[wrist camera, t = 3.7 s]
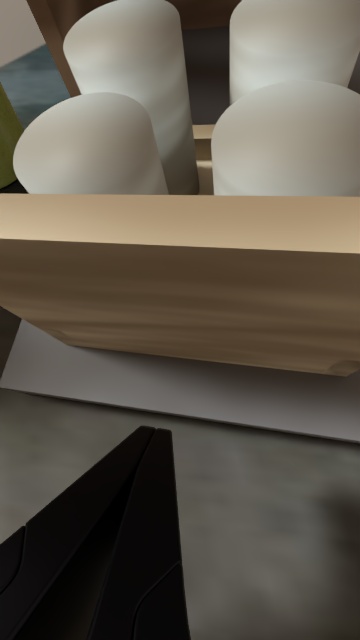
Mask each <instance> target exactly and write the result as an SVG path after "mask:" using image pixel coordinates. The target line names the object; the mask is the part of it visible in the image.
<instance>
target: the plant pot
mask: <svg viewBox="0 0 360 640" xmlns="http://www.w3.org/2000/svg"><path fill="white" fill-rule="evenodd" d="M23 133H24V129H23V127H22V125H21V123H20V121H19V119H18V117H17V115H16V113H15V111H14V109H13V107H12V105H11V103H10V101H9V99H8V97H7V95H6V93H5V91H4V89H3V87H2V84H1V82H0V189H1V188H3V187H5V186H7V185H9V184H11V183H12V182H14V181H15V180H16V179H18V178H17V176H16V174H15V171H14V167H13V156H14V151H15V148H16V145H17V143H18V141H19V139H20V137H21V135H22V134H23Z"/></svg>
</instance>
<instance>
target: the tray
mask: <svg viewBox="0 0 360 640" xmlns="http://www.w3.org/2000/svg"><path fill="white" fill-rule="evenodd" d="M63 51H64V54H65V57H66V59H67V61H68V64H69V66H70V68H71V71H72V73H73V75H74V78H75V80H76V82H77V85H78V87H79V90H80V92H81V94H82V95H79V96H76V97H73V98H70V99H67V100H65V101H63V102H60V103H58V104H56V105H55V106H53V107H51V108H49V109H48V110H46V111H45V112H44V113H42V114H41V115H40V116H38V117H37V118H36V119H35V120H34V121H33V122H32V123H31V124H30V125H29V126H28V127H27V129H26V130H25V131H24V133H23V134H22V135H21V137H20V139H19V141H18V143H17V145H16V148H15V151H14V156H13V167H14V171H15V174H16V176H17V178H18V180H19V181H20V183H21V184H22V185H23V186H24V188H25V189H26V190H27V191H28V193H29V194H0V306H1V307H3V308H5V309H6V310H8V311H10V312H12V313H13V314H15V315H17V316H18V317H20V318H22V319H24V320H25V321H27V322H29V323H30V324H32V325H34V326H35V327H37V328H39V329H41V330H42V331H44V332H46V333H47V334H49V335H51V336H53V337H54V338H56V339H58V340H59V341H61V342H63V343H64V344H66V345H72V346H81V347H90V348H99V349H107V350H116V351H125V352H134V353H143V354H151V355H160V356H169V357H178V358H187V359H196V360H204V361H213V362H222V363H231V364H240V365H248V366H257V367H266V368H275V369H284V370H293V371H301V372H310V373H319V374H328V375H337V376H345V377H346V376H348V375H350V374H352V373H354V372H355V371H357V370H359V369H360V94H358V93H356V92H354V91H352V90H350V89H348V88H347V87H348V84H349V81H350V78H351V75H352V72H353V69H354V66H355V63H356V60H357V57H358V54H359V51H360V0H242V1H241V2H240V3H239V4H238V5H237V7H236V8H235V9H234V11H233V13H232V15H231V19H230V107H228V108H227V109H226V110H225V112H224V113H223V114H222V115H221V117H220V118H219V120H218V121H217V123H216V124H214V125H192V118H191V109H190V101H189V92H188V83H187V75H186V66H185V57H184V49H183V40H182V31H181V23H180V15H179V12H178V11H177V9H176V8H175V7H174V6H173V5H172V4H171V3H169V2H167V1H165V0H117V1H114V2H110V3H108V4H105V5H103V6H101V7H98V8H96V9H95V10H93V11H91V12H89V13H88V14H86V15H85V16H84V17H82V18H81V19H80V20H79V21H78V22H76V23H75V24H74V26H73V27H72V28H71V29H70V30H69V32H68V34H67V35H66V37H65V40H64V44H63Z"/></svg>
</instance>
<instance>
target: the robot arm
mask: <svg viewBox="0 0 360 640" xmlns="http://www.w3.org/2000/svg"><path fill="white" fill-rule="evenodd" d="M0 640H191V637H190V631H189V625H188V617H187V608H186V598H185V589H184V577H183V567H182V555H181V542H180V530H179V517H178V505H177V492H176V480H175V467H174V455H173V442H172V432H171V430H167V429H161V428H157V429H156V428H154V427H149V426H140V427H139V428H137V429H136V430H135V431H134V432H133V433H132V434H130V435H129V436H128V437H127V438H126V439H125V440H123V441H122V442H121V443H120V444H119V445H117V446H116V447H115V448H114V449H113V450H112V451H110V452H109V453H108V454H107V455H106V456H104V457H103V458H102V459H101V460H100V461H99V462H97V463H96V464H95V465H94V466H93V467H92V468H90V469H89V470H88V471H87V472H86V473H84V474H83V475H82V476H81V477H80V478H79V479H77V480H76V481H75V482H74V483H73V484H71V485H70V486H69V487H68V488H67V489H66V490H64V491H63V492H62V493H61V494H60V495H59V496H57V497H56V498H55V499H54V500H53V501H51V502H50V503H49V504H48V505H47V506H46V507H44V508H43V509H42V510H41V511H40V512H38V513H37V514H36V515H35V516H34V517H33V518H31V519H30V520H29V521H28V522H27V523H26V526H22V527H21V528H19V529H18V530H17V531H16V532H15V533H13V534H12V535H11V536H10V537H9V538H8V539H6V540H5V541H4V542H3V543H2V544H0Z"/></svg>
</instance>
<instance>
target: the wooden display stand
mask: <svg viewBox="0 0 360 640" xmlns="http://www.w3.org/2000/svg"><path fill="white" fill-rule="evenodd" d="M114 1H117V0H27V2H28V5H29V6H30V9H31V11H32V13H33V16H34V18H35V20H36V22H37V24H38V26H39V29H40V31H41V33H42V35H43V37H44V39H45V42H46V44H47V46H48V48H49V50H50V53H51V55H52V57H53V59H54V61H55V63H56V66H57V68H58V70H59V72H60V74H61V76H62V79H63V81H64V83H65V85H66V87H67V89H68V92H69V94H70V96H71V98H73V97H76V96H79V95H82V94H81V92H80V90H79V87H78V85H77V82H76V80H75V78H74V75H73V73H72V71H71V68H70V66H69V64H68V61H67V59H66V57H65V54H64V51H63V44H64V40H65V37H66V35H67V34H68V32H69V30H70V29H71V28H72V27H73V26H74V24H75V23H76V22H78V21H79V20H80V19H81V18H82V17H84V16H85V15H86V14H88V13H89V12H91V11H93V10H95V9H96V8H98V7H101V6H103V5H105V4H108V3H110V2H114ZM165 1H167V2H169V3H171V4H172V5H173V6H174V7H175V8H176V9H177V11H178V12H179V15H180V23H181V31H182V40H183V49H184V57H185V66H186V75H187V83H188V92H189V101H190V109H191V118H192V125H214V124H216V123H217V121H218V120H219V118H220V117H221V115H222V114H223V113H224V112H225V110H226V109H227V108H228V107H230V19H231V15H232V13H233V11H234V9H235V8H236V7H237V5H238V4H239V3H240V2H241V1H242V0H165ZM347 88H348V89H350V90H352V91H354V92H356V93H358V94H360V51H359V54H358V57H357V60H356V63H355V66H354V69H353V72H352V75H351V78H350V81H349V84H348V87H347ZM0 388H5V389H9V390H13V391H18V392H22V393H28V394H35V395H41V396H48V397H55V398H61V399H68V400H74V401H81V402H88V403H94V404H101V405H108V406H114V407H121V408H127V409H134V410H141V411H147V412H154V413H161V414H167V415H174V416H180V417H187V418H194V419H200V420H207V421H213V422H220V423H227V424H233V425H240V426H247V427H253V428H260V429H266V430H273V431H280V432H286V433H293V434H300V435H306V436H313V437H319V438H326V439H333V440H339V441H346V442H353V443H359V444H360V369H359V370H357V371H355V372H354V373H352V374H350V375H348V376H346V377H345V376H337V375H328V374H319V373H310V372H301V371H293V370H284V369H275V368H266V367H257V366H248V365H240V364H231V363H222V362H213V361H204V360H196V359H187V358H178V357H169V356H160V355H151V354H143V353H134V352H125V351H116V350H107V349H99V348H90V347H81V346H72V345H66V344H64V343H63V342H61V341H59V340H58V339H56V338H54V337H53V336H51V335H49V334H47V333H46V332H44V331H42V330H41V329H39V328H37V327H35V326H34V325H32V324H30V323H29V322H27V321H25V320H24V319H22V320H21V323H20V326H19V329H18V332H17V334H16V337H15V340H14V343H13V346H12V349H11V351H10V354H9V357H8V360H7V363H6V366H5V368H4V371H3V374H2V377H1V380H0Z"/></svg>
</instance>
